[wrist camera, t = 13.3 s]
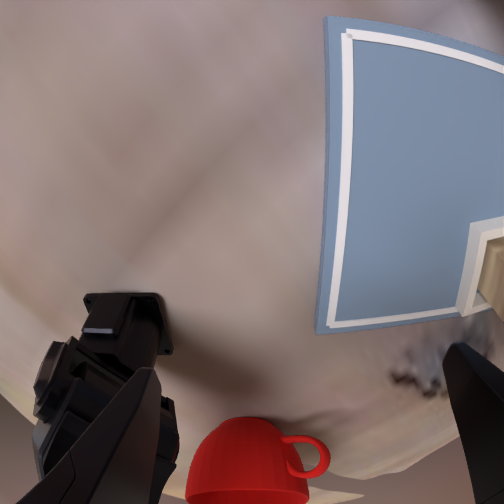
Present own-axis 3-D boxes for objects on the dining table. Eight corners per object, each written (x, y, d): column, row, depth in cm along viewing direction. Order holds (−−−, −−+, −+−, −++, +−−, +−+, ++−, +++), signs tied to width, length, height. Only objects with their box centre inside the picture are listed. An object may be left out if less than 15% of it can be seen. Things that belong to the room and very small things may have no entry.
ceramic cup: (349, 412, 33) (365, 487, 24) (246, 456, 39) (246, 518, 30) (277, 370, 28) (286, 469, 20) (170, 426, 34) (161, 498, 25)
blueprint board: (510, 298, 25) (515, 305, 24) (314, 326, 25) (316, 335, 24) (559, 85, 14) (568, 88, 13) (323, 18, 14) (327, 15, 13)
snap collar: (455, 305, 24) (462, 317, 22) (470, 222, 19) (480, 232, 18) (516, 285, 23) (524, 294, 22) (535, 209, 19) (545, 217, 17)
